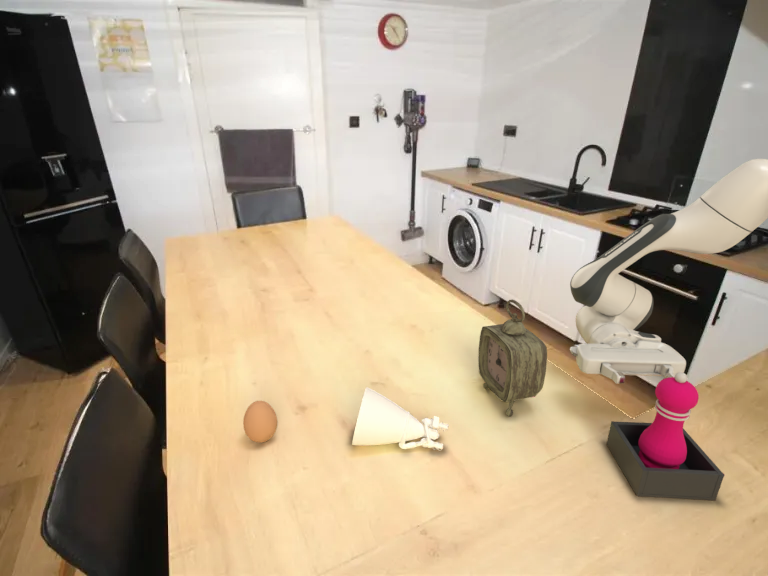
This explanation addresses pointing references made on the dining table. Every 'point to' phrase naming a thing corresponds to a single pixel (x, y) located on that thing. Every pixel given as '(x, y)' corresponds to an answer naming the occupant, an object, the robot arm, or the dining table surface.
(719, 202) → the robot arm
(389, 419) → the rocket engine
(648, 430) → the pepper mill
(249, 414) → the egg
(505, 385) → the tabletop clock
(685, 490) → the bin
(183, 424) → the dining table surface
